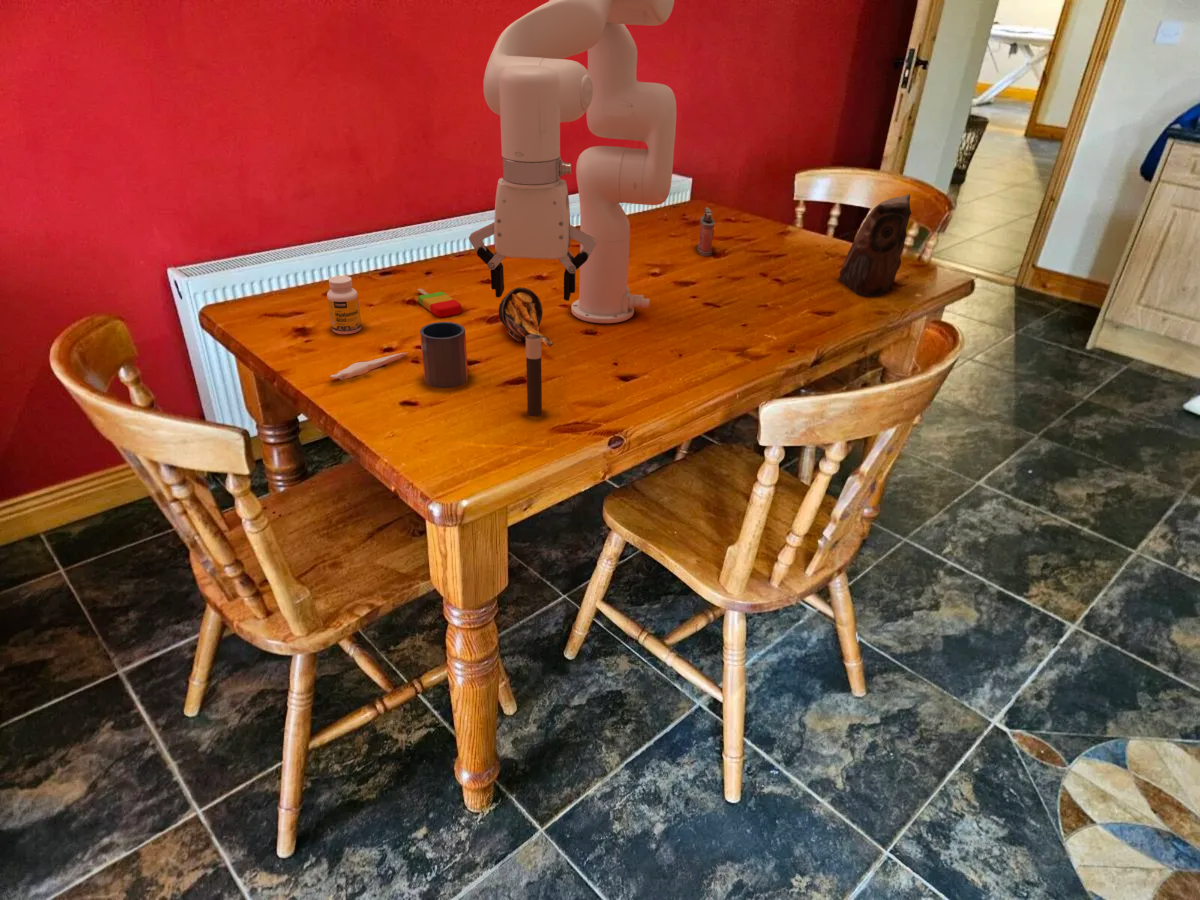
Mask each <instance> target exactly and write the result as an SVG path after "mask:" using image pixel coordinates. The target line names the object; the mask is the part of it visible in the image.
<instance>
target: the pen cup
mask: <svg viewBox="0 0 1200 900" xmlns="http://www.w3.org/2000/svg"><path fill="white" fill-rule="evenodd" d="M419 337H420V349H421V358H422V370H423V379H424V382H425V384H427V385H428V386H430V387H433V388H438V389H450V388H456V387H459V386H462V385H464V384H465V383H466V382H467V381H468V379H469V371H468V369H469V367H468V354H467V353H468V352H467V339H466V337H467V336H466V329H465V327H464V325H461V324H460V323H457V322H453V321H437V322H432V323H428V324H426V325H424V326H422V327H421V328H420V330H419Z"/></svg>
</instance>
